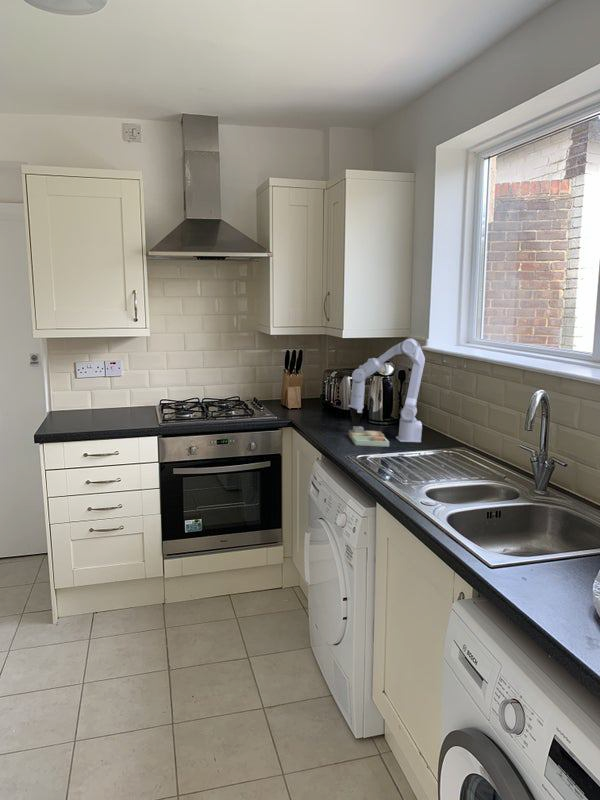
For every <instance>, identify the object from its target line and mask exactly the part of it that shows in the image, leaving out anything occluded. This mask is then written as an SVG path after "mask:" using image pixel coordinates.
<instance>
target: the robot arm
mask: <svg viewBox="0 0 600 800" xmlns="http://www.w3.org/2000/svg"><path fill="white" fill-rule="evenodd" d="M422 350H423V349H422V347H421V345H420V343H419V342H418V341H417V340H416V339H414V338H412V337H411V338H406V339H405V340H404V341H401V342H399V343H397V344H395V345H393V346H392V347H390V348H389V349H388V350H386V351H385V352H384V353H382V354H381V355H380V356H379V357H377V358H376V357H372V358H368V359H367V361H366V362H364V364H360V365H359V366H358V368H355V369H354V370H353V371H352V374H351V379H352V385H351V394H350V404H347V407H348V408H350V409H349V412H350V415H351V421H352V427H353V426H359V423H360V420H361V417H362V416H363V414H364V410H363V409H364V408H365V405H364V403H365V392H366V391H365V389H366V386H365V383H366V379H367V377H368V378H369V377H370V376H371V375H373V374H374V373H376V372H377V371H379V370H381V367H382V364H384V363H385V362H387V361H389V359H391V358H393V357H394V356H396V355H402V354H405V355H406V356H408V357H409V359H410V360H411V361H412V363H413V364H412V369H411V373H410V378H409V384H408V389H407V394H406V399H405V402H404V405H403V408H401V411H400V418H399V429H398V435H397V436H395V439H396V440H398V441H399V442H401V443H403V442H405V443H422V432H423V424H422V421H421V420H418V419H417V418H416V415H417V413H418V408H417V403H418V397H419V396H418V395H419V391H420V386H421V382H422V377H423V371H424V367H425V364H426V363H425V361H426V357H425V355H424V352H423V351H422Z"/></svg>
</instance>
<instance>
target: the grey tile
mask: <svg viewBox="0 0 600 800" xmlns="http://www.w3.org/2000/svg"><path fill="white" fill-rule="evenodd" d="M352 430H353V432H354V433H364V431H365V428H364V427H363V426H359V425H358V426H353V425H352Z"/></svg>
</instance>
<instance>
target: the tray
mask: <svg viewBox="0 0 600 800" xmlns="http://www.w3.org/2000/svg"><path fill="white" fill-rule="evenodd" d="M372 437H373V436H352V440H351V441H352V443H353V444H354V445H355V446H356V447H357V446H359V447H361V446H363V447H364V446H365V447H390V441H389V440H388V439H387V438H386V436H384V437H383V438H384V441H372Z"/></svg>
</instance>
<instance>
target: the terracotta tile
mask: <svg viewBox="0 0 600 800" xmlns="http://www.w3.org/2000/svg"><path fill="white" fill-rule="evenodd" d="M372 441H384V438H383V437H382V436H373V437H372Z"/></svg>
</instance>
